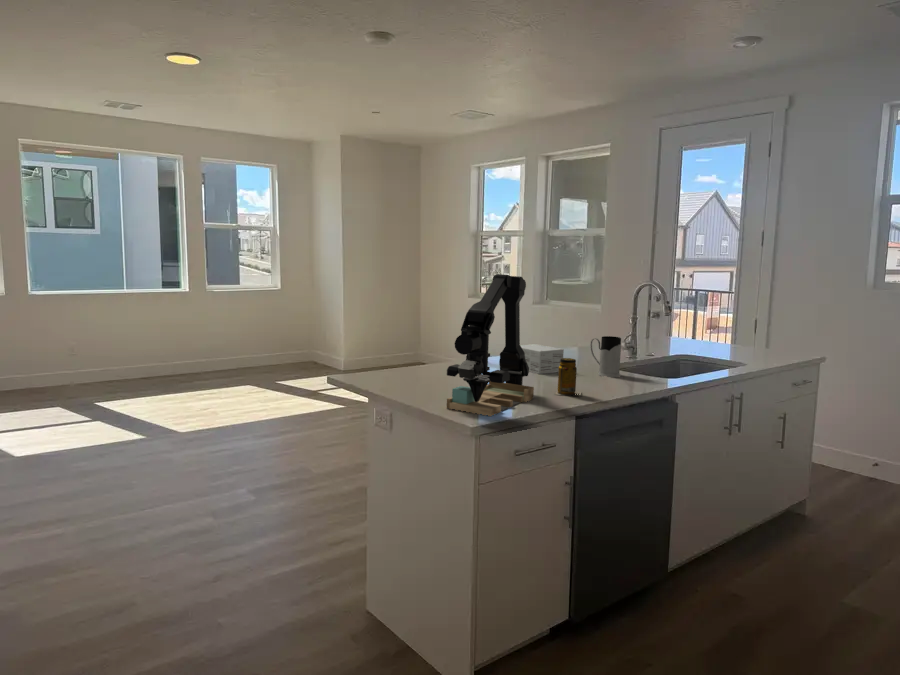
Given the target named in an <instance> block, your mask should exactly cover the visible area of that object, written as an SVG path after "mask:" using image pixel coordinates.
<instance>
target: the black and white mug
mask: <svg viewBox="0 0 900 675" xmlns="http://www.w3.org/2000/svg"><path fill="white" fill-rule="evenodd" d="M594 340H596V341H597V344H598V349H599V351H600V352H599V353H600V354H599V360H598V359H597V357H596V356H595V354H594V351H593V342H594ZM600 340H601V341H600ZM590 351H591V355H592V357H593V359H594V360H595V361H596V363H597V364H598V365H599V367H598V373H597V376H600V377H604V376H607V377H606V378H618V377H617V376H620V377H621V374H620V368H621V351H622V338H621V337H620V336H613V335H612V336H609V335H607V336H605V335H604V336H601V339H599V338H597V337H596V338H595V337H594V338H592V339H591V340H590Z"/></svg>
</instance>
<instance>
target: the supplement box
mask: <svg viewBox="0 0 900 675" xmlns="http://www.w3.org/2000/svg"><path fill="white" fill-rule="evenodd" d="M520 346H521V348H522V349H523V351H524V353H525V359H526V362H527V364H528V367H529V373H533V374H536V375H542V374H543V375H544V374H552V373H559V366H560V360H561V359H562V358H564V349H563V348H559V347H553V346H548V345H547V346H546V345H543V344H537V343H534V344H533V343H531V344H522V345H521V344H520Z"/></svg>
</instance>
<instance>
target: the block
mask: <svg viewBox="0 0 900 675" xmlns="http://www.w3.org/2000/svg"><path fill="white" fill-rule="evenodd" d="M451 390H452V392H451V397H452V402H457V403H462V404H468V403H471V402H473V401H475V400H474V397H473V394H472V391H471V388H470V386H463V385H460V386H456V387H454V388H452V389H451Z"/></svg>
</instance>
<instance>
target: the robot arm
mask: <svg viewBox="0 0 900 675" xmlns="http://www.w3.org/2000/svg"><path fill="white" fill-rule="evenodd" d="M526 288H527V283H526V280H525V279H524V278H523V277H522V276H518V275H517V276H515V275H509V274H504V273H503V274H499V273H498V274H497V273H496V274H494V275H493V277H492V281H491V283H490V285H489V286H488V288H487V290H486V291H485V293H484V294H483V296H482V298H481V299H480V301H477V302H475V303H473V304H472V305H471V306H470V308H469V309H468V310H467V312H466V314H465V317H464V320H463V323H462V324H461V328H460V334H459V335H458V336H457V337H456V338H455V340H454V348H455V350H456V352H457V353H459V354H460V355H463V356H465V355H466V357H465V360H464V361H462V362H461V363H460V364H459V363H458V364H456V363H455V364H453V365H452V364H451V365H449V366H448V367H447V369H446V376H448V377H457V375H458V376H459V378H460V379H463V381H465V382H466V383H467V384H468V387H470V388H471V391H472V394H473V397H474V400H475V402H479V400H480V398H481V396H482V393H483V391H484V389H485V387H486V386H487V384H489V382H490V381H491V382H495V383H510V384H516V385H523V378H524V377H529V373H530V372H529V367H528V364H527V362H526V359H525V353H524V351H523V349H522V348H521V346H520V345H521V344H520V340H521V338H520V337H521V335H520V334H521V333H520V331H521V330H520V327H521V326H520V324H521V322H520V320H521V319H520V317H521V316H520V313H521V312H520V302H521V301H522V299H523V297H524V296H525V290H526ZM501 300H502V301H503V302H504V331H505V332H504V335H505V336H504V337H505V338H504V339H505V343H504V347H503V349H502V351H500V353H499V362H498V364H499V369H495V370H493V371H490V370H491V369H490V366H489V357H491V353H490V352H489V341H490V334H491V333H492V331H491V328H492V326H493V324H494V321H495V318H496V317H495V313H494V312H495V309H496V308H497V306H498V304H499V302H500V301H501Z"/></svg>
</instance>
